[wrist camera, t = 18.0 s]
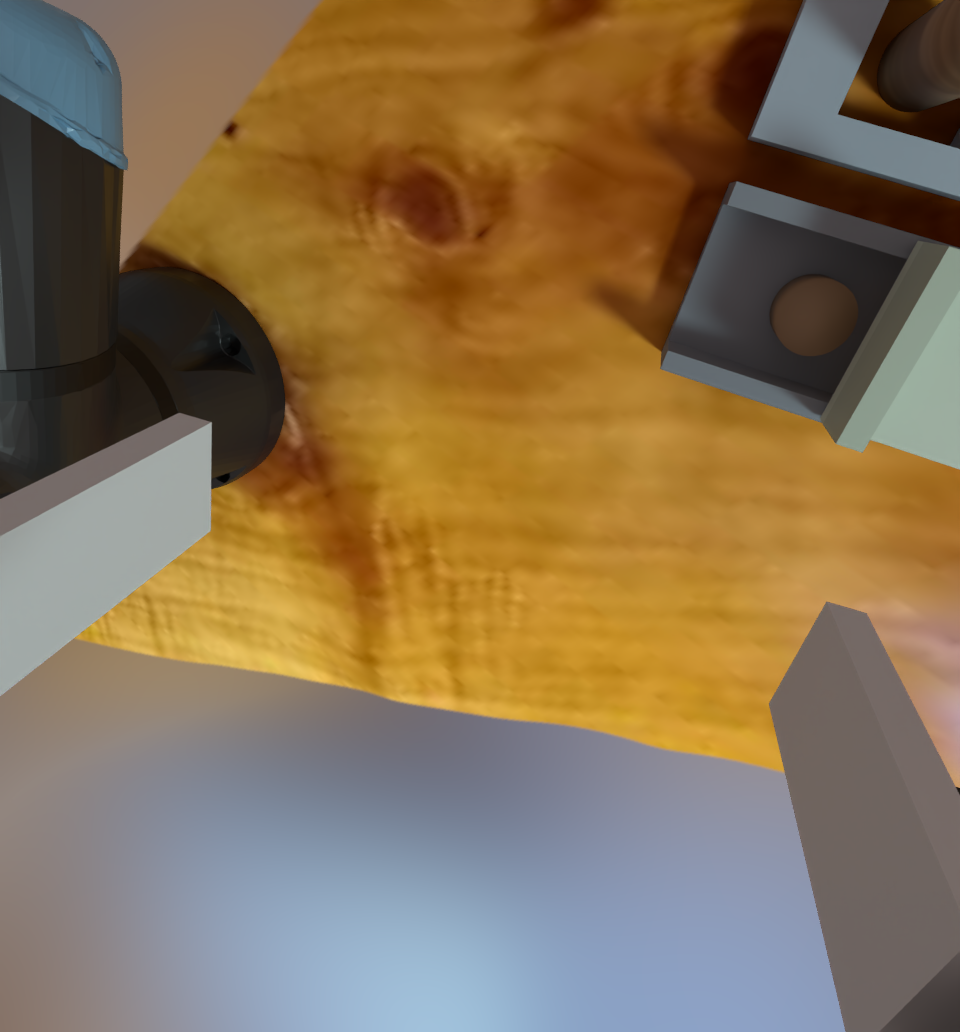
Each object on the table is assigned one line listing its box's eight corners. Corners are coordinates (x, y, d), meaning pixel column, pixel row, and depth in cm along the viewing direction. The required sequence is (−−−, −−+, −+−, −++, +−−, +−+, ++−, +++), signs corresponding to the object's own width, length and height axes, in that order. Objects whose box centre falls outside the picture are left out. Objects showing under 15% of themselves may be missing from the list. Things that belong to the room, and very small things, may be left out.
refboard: (661, 351, 38) (660, 368, 34) (729, 183, 34) (736, 181, 30) (869, 420, 37) (891, 445, 33) (967, 253, 33) (1005, 261, 29)
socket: (747, 139, 33) (751, 136, 31) (840, -93, 29) (851, -112, 27) (992, 210, 32) (1011, 211, 30) (1129, -21, 27) (1160, -36, 26)
